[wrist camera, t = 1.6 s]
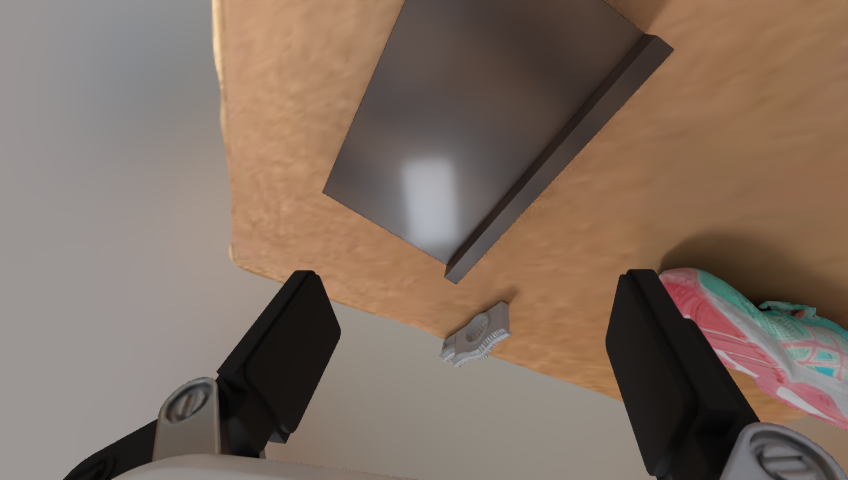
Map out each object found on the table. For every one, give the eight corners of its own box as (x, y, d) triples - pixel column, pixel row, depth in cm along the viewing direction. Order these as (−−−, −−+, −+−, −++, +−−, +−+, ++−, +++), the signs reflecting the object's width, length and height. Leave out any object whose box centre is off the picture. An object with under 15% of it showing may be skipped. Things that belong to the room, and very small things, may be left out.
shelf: (462, -99, 22) (452, -130, 18) (640, 42, 25) (675, 49, 20) (337, 176, 36) (312, 202, 31) (461, 250, 38) (456, 284, 34)
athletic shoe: (859, 357, 38) (1047, 398, 26) (819, 428, 38) (992, 502, 26) (646, 235, 41) (729, 221, 29) (607, 300, 40) (674, 313, 29)
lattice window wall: (450, 345, 48) (445, 382, 43) (440, 339, 48) (434, 375, 43) (512, 304, 42) (513, 342, 37) (501, 296, 41) (502, 334, 37)
